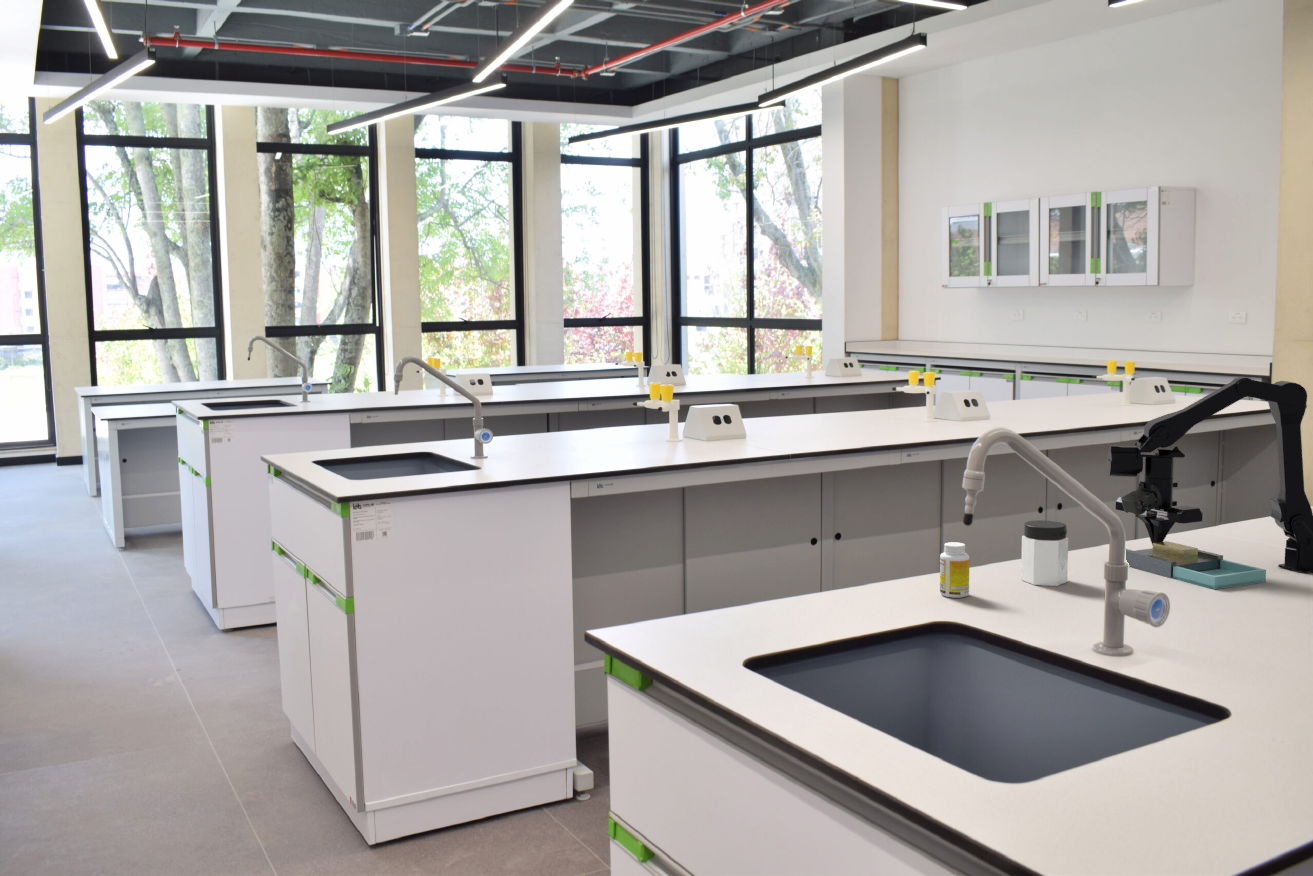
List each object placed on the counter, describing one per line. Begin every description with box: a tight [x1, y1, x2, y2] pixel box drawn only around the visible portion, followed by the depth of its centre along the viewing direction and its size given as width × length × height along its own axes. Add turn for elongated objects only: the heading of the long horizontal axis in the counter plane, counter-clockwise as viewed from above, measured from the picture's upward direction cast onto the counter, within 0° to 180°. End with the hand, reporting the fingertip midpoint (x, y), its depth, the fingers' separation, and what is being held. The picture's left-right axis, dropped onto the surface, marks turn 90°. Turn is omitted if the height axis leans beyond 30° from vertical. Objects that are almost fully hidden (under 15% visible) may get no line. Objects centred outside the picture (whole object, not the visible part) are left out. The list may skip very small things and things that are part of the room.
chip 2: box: [1168, 544, 1199, 562], centre depth 221 cm, size 4×4×2 cm
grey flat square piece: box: [1125, 547, 1224, 579], centre depth 224 cm, size 14×14×3 cm
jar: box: [1020, 519, 1069, 587], centre depth 214 cm, size 9×8×12 cm
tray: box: [1172, 559, 1267, 591], centre depth 213 cm, size 14×10×2 cm
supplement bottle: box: [939, 541, 970, 599], centre depth 205 cm, size 6×6×10 cm
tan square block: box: [1152, 540, 1182, 558], centre depth 225 cm, size 4×4×2 cm
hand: (1156, 548), depth 228 cm, fingers closed
